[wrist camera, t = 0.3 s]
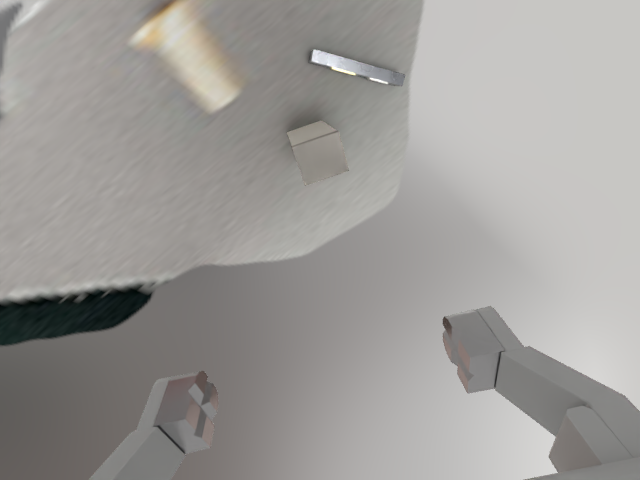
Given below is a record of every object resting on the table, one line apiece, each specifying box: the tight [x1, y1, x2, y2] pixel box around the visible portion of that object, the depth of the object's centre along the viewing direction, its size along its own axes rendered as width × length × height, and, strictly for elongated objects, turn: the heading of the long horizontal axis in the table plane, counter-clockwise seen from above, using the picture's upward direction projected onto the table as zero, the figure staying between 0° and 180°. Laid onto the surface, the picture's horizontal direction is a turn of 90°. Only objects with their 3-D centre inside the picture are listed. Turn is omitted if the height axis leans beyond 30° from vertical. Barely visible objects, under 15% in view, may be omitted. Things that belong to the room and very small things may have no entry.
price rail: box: [309, 49, 405, 86], centre depth 47 cm, size 2×14×4 cm, turn 77°
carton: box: [287, 120, 349, 186], centre depth 46 cm, size 5×6×14 cm
